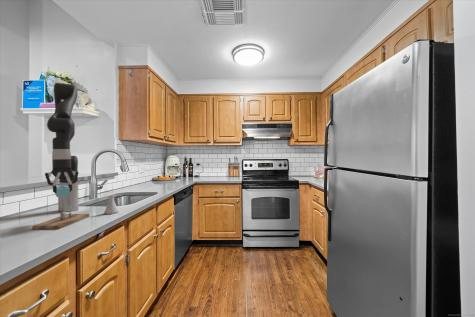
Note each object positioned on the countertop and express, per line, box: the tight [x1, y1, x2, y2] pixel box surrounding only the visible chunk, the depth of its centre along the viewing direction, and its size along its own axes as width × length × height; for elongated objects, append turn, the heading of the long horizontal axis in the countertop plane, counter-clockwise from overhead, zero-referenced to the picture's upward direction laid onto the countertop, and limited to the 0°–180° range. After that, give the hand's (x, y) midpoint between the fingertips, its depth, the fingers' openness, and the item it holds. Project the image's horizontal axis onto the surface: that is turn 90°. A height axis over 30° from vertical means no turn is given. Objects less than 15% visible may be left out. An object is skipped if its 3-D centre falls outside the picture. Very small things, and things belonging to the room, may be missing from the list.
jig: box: [32, 211, 90, 230], centre depth 121 cm, size 12×22×5 cm, turn 0°
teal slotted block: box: [55, 185, 70, 198], centre depth 122 cm, size 5×13×4 cm, turn 39°
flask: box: [103, 194, 119, 215], centre depth 140 cm, size 7×7×10 cm
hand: (62, 192), depth 121 cm, fingers closed on teal slotted block, 5 cm apart
